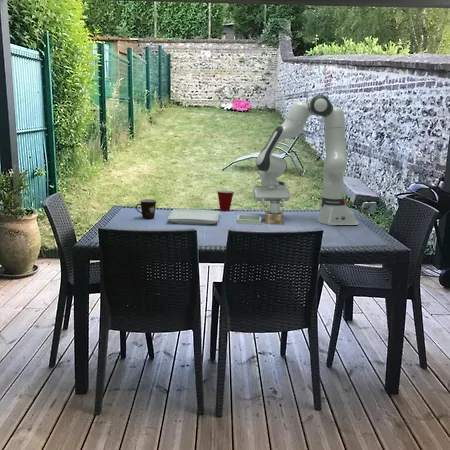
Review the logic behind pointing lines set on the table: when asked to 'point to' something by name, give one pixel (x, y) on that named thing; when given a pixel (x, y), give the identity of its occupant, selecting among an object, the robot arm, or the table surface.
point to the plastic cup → (225, 199)
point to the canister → (274, 207)
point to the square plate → (193, 216)
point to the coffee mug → (147, 208)
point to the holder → (274, 218)
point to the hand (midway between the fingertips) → (274, 206)
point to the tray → (254, 218)
